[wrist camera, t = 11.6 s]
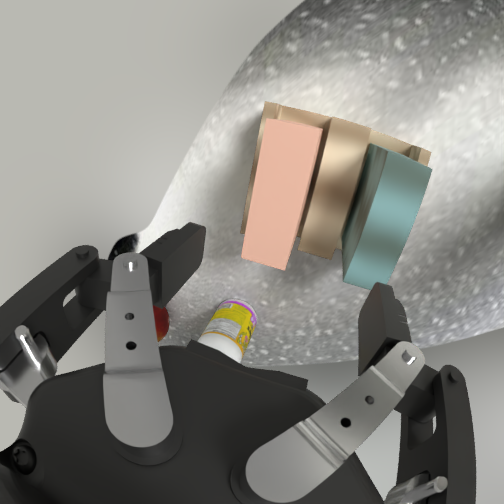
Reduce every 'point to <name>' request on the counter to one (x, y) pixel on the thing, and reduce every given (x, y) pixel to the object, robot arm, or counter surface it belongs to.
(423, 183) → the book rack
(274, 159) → the coral book
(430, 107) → the counter surface
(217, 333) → the supplement bottle
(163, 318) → the fruit
